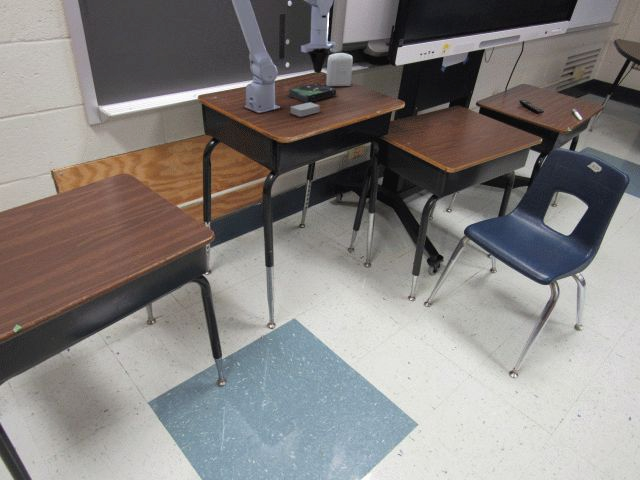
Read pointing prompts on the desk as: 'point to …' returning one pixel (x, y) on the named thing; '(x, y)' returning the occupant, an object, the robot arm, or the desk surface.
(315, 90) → the disk drive
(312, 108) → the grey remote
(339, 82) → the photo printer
